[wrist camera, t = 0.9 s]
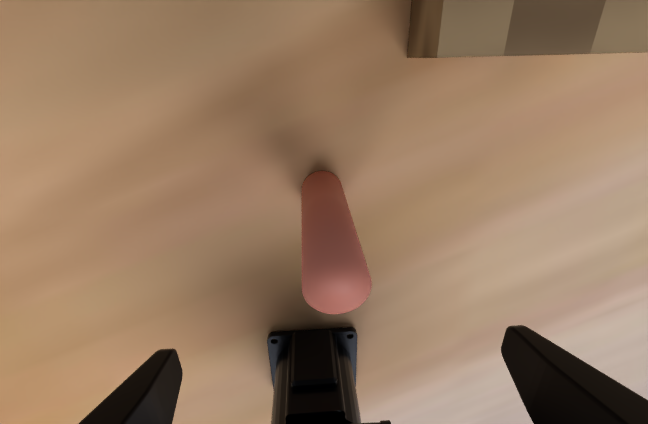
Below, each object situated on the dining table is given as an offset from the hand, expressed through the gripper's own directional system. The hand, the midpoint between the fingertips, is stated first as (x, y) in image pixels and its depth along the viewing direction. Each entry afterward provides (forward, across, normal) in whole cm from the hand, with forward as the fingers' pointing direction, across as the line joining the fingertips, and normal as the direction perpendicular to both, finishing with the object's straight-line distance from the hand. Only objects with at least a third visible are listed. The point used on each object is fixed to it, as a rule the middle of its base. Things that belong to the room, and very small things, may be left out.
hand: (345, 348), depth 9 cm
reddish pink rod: (+12, 0, 0) cm, 12 cm away
